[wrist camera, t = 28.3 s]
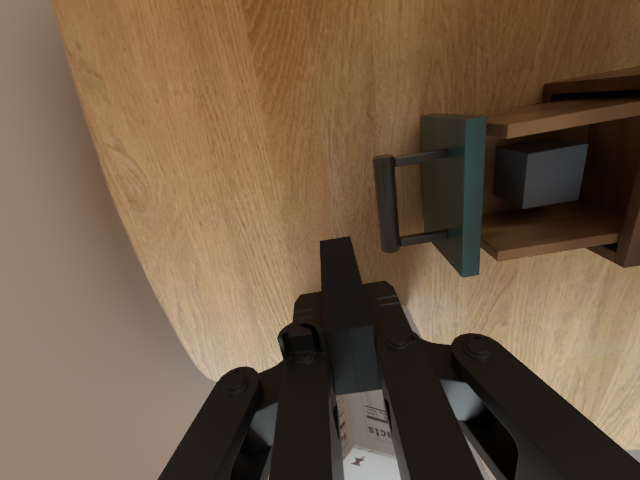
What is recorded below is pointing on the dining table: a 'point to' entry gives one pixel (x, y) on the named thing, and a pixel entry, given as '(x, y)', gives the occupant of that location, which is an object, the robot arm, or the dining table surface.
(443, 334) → the dining table surface
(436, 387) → the robot arm
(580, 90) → the cabinet
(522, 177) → the block
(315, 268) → the dining table surface
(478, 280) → the dining table surface
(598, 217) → the drawer
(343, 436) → the supplement box
